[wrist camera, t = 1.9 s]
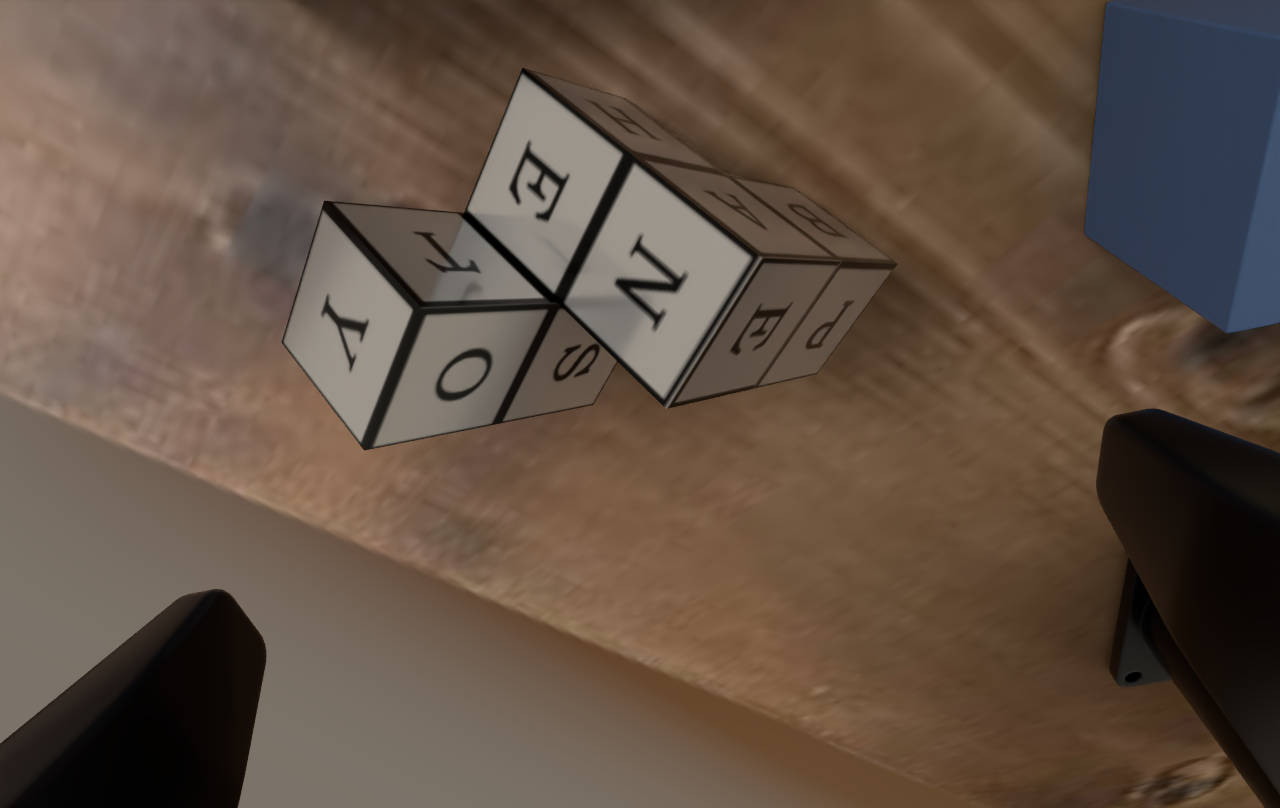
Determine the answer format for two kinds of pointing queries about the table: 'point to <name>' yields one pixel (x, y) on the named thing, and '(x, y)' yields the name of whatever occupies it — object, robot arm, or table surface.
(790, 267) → the building blocks
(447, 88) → the table surface
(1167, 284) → the blue block
